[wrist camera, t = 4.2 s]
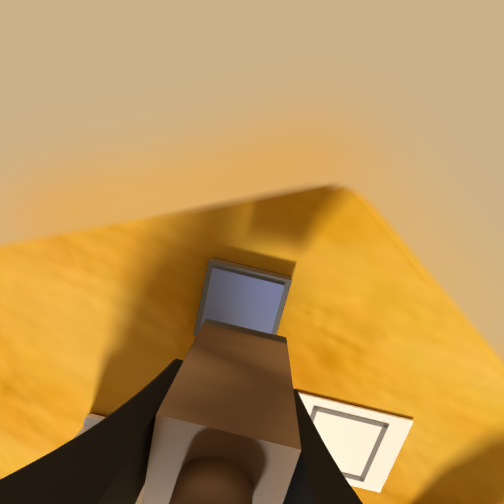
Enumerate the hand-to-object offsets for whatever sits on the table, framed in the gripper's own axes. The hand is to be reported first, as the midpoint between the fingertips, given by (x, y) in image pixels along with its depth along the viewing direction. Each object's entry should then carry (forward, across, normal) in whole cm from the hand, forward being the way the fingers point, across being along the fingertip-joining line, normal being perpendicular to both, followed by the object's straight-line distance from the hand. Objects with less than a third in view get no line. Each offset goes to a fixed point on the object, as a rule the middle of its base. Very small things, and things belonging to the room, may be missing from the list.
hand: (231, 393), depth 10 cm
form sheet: (+8, -11, +10) cm, 17 cm away
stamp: (+2, 0, 0) cm, 2 cm away
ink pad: (+8, 0, 0) cm, 8 cm away
